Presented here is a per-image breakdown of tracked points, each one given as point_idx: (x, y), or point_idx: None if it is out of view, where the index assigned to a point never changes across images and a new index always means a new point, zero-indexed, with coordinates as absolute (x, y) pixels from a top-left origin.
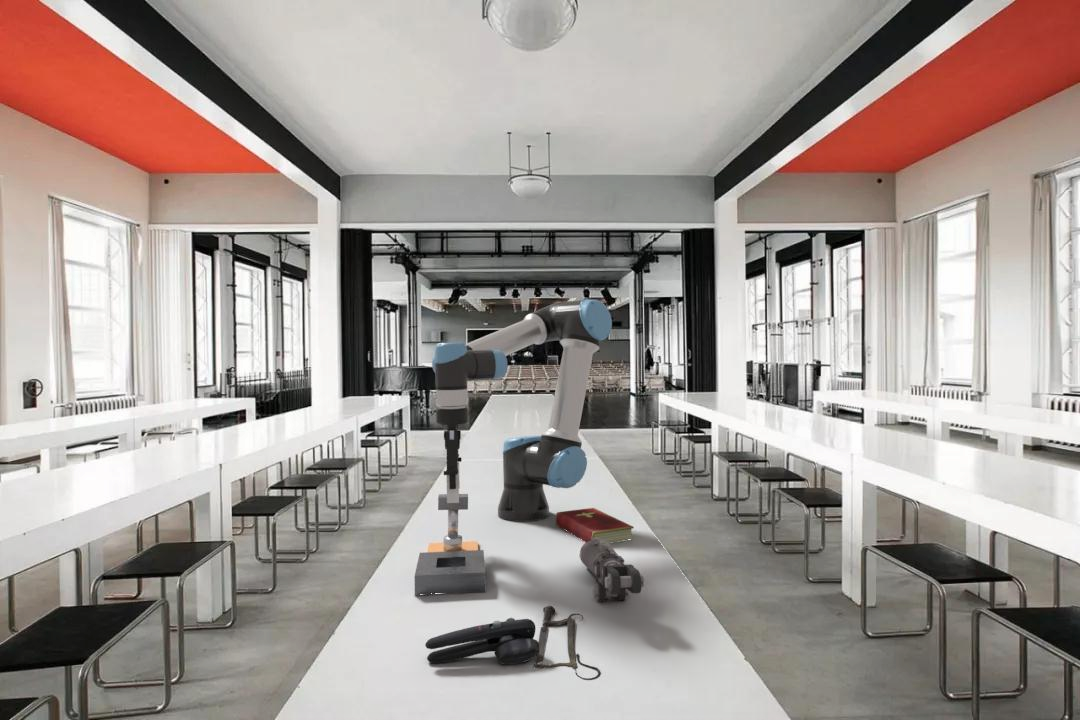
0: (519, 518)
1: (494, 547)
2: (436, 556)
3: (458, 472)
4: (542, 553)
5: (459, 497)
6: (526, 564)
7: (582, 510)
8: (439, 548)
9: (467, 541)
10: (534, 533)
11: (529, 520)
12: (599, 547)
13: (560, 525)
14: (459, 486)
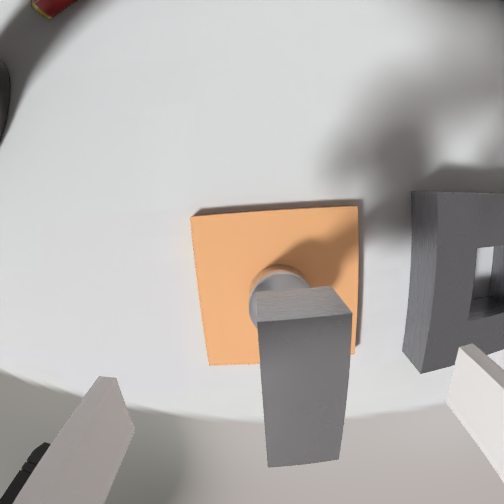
0: (2, 115)
1: (229, 156)
2: (458, 326)
3: (70, 459)
4: (297, 21)
5: (348, 365)
6: (388, 73)
7: None
8: None
9: (194, 251)
10: (103, 51)
11: (9, 89)
12: None
13: (69, 1)
14: (110, 387)
